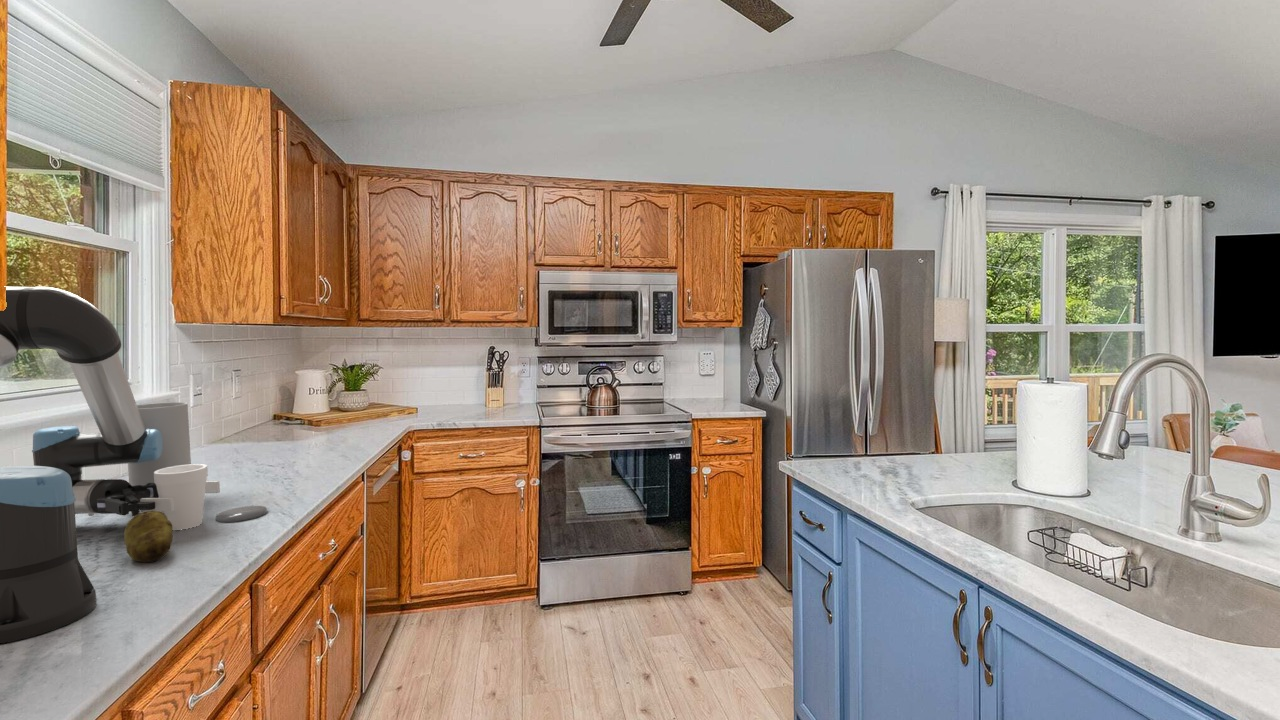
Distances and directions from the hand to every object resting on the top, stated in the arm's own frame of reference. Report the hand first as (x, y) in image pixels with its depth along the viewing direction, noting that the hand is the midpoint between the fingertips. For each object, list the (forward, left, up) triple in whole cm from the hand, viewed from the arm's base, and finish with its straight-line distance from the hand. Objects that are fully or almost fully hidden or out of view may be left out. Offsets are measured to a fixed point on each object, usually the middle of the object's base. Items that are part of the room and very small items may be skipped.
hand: (196, 495), depth 133 cm
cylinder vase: (+12, +28, -7) cm, 31 cm away
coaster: (+8, -3, -7) cm, 11 cm away
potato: (-16, -8, -7) cm, 19 cm away
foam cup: (-1, +3, -7) cm, 8 cm away
